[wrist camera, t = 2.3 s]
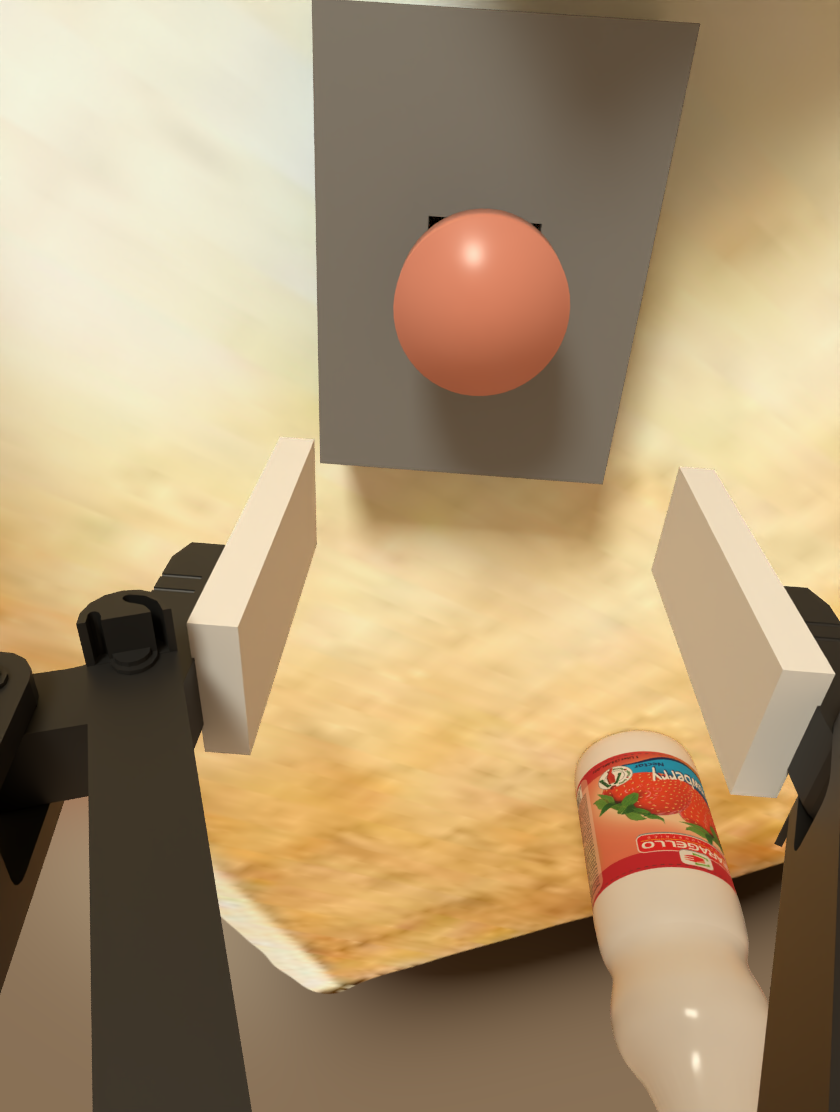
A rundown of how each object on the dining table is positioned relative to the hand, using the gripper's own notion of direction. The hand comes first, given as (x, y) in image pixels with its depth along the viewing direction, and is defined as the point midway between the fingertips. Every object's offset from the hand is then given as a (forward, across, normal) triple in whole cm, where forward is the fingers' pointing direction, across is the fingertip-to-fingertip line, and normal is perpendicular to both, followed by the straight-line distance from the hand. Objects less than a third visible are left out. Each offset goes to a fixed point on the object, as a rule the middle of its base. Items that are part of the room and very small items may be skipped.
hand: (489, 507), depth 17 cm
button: (+24, 0, 0) cm, 24 cm away
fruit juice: (+27, +16, -38) cm, 50 cm away
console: (+27, 0, 0) cm, 27 cm away
